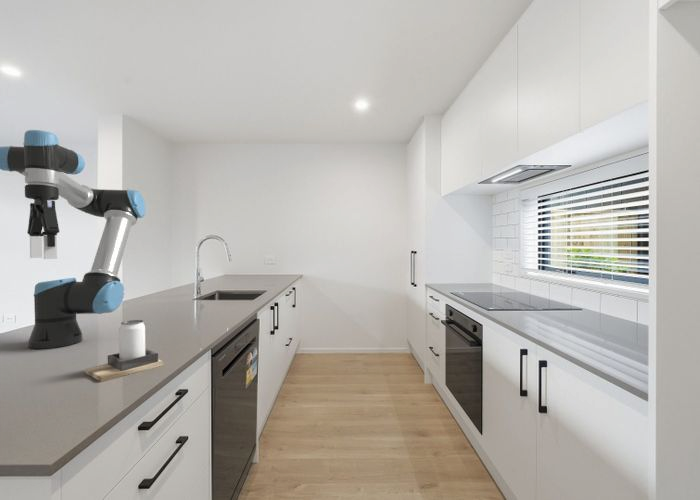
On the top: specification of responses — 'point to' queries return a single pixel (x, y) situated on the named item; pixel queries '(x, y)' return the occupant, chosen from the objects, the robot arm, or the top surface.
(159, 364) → the seat block
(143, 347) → the can
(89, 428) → the top surface
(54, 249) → the robot arm
